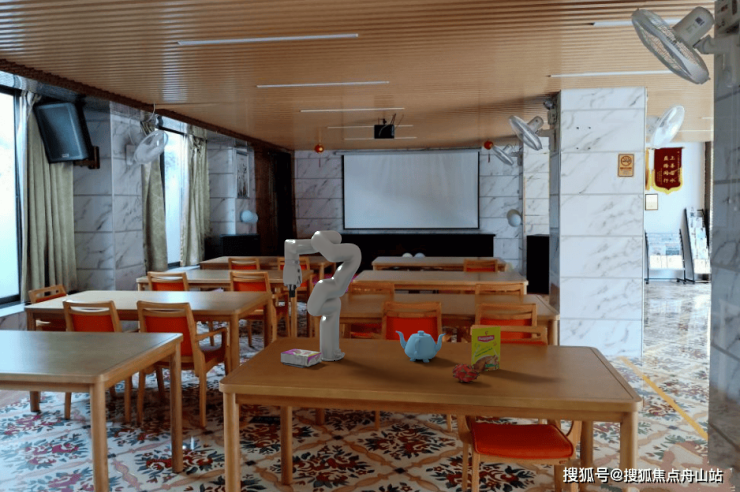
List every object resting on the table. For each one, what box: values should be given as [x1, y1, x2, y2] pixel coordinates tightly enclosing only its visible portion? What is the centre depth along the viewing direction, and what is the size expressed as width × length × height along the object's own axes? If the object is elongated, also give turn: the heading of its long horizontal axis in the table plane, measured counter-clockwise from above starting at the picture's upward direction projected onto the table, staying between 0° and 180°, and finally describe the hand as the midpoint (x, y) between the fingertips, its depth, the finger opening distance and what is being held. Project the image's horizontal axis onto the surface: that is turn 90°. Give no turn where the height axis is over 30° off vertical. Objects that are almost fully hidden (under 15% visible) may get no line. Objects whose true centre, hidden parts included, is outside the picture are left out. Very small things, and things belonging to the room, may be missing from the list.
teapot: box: [395, 330, 446, 363], centre depth 291 cm, size 16×20×14 cm
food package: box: [470, 326, 502, 373], centre depth 271 cm, size 15×1×20 cm, turn 112°
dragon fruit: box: [451, 363, 481, 384], centre depth 254 cm, size 8×8×12 cm
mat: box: [282, 362, 307, 369], centre depth 283 cm, size 12×9×1 cm
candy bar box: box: [280, 348, 322, 368], centre depth 284 cm, size 11×5×16 cm
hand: (292, 297), depth 314 cm, fingers closed
